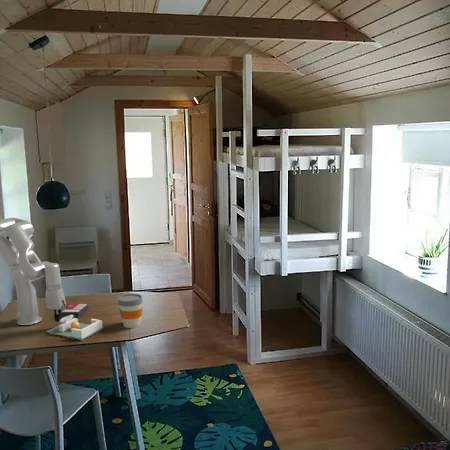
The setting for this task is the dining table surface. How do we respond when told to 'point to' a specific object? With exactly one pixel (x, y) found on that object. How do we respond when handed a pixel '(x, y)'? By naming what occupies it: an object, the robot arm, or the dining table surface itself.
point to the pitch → (70, 331)
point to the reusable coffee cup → (130, 309)
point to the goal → (87, 329)
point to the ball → (75, 325)
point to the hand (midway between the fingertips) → (58, 320)
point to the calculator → (74, 310)
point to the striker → (66, 323)
